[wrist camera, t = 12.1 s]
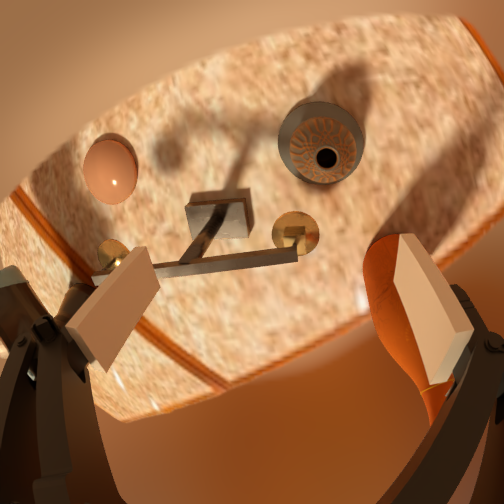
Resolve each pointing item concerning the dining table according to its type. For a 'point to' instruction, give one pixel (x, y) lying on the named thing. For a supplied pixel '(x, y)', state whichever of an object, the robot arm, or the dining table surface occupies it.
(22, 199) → the dining table surface
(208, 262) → the balance
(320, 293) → the dining table surface
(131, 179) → the dish
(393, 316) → the wine bottle
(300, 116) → the dish
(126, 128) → the dining table surface
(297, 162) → the vase
